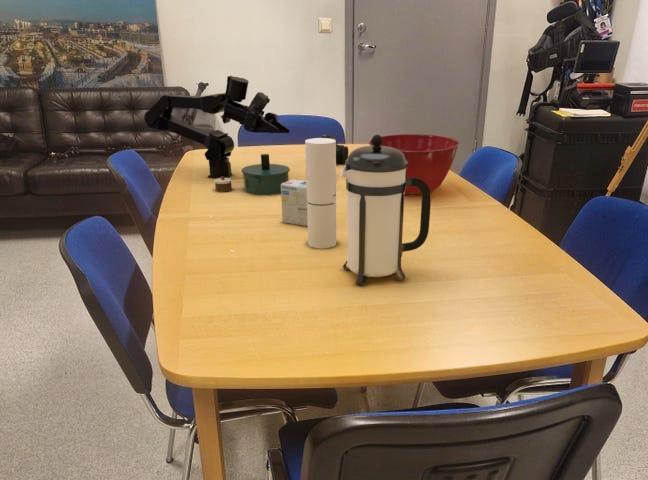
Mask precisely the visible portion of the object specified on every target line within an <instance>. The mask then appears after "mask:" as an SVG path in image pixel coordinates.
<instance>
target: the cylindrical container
mask: <svg viewBox="0 0 648 480" xmlns="http://www.w3.org/2000/svg"><path fill="white" fill-rule="evenodd" d="M336 140H337V139H336ZM336 140H334V139H329V138H322V137H313V138H308V139H305V140H304V145H305V147H304V148H305V151H304V152H305V181H306V184H307V219H308V226H307V245H308V246H309V247H310V248H313V249H330V248H333V247H335V246H336V245H337V164H336Z"/></svg>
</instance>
